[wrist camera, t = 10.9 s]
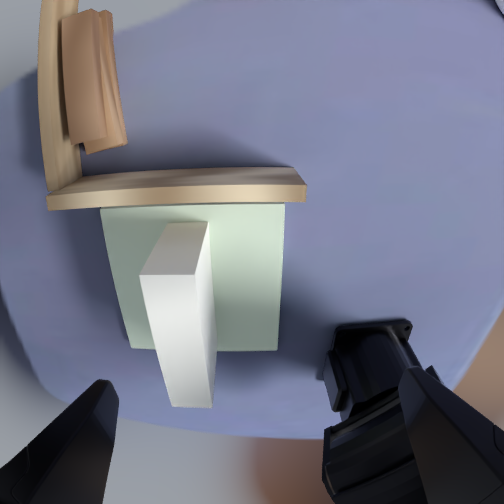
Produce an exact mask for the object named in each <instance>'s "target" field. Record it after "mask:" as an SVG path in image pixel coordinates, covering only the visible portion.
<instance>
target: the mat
mask: <svg viewBox="0 0 504 504" xmlns="http://www.w3.org/2000/svg"><path fill="white" fill-rule="evenodd" d="M100 214H101V220H102V226H103V231H104V237H105V242H106V247H107V252H108V257H109V262H110V267H111V271H112V276H113V280H114V284H115V289H116V293H117V297H118V301H119V305H120V309H121V312H122V316H123V320H124V324H125V327H126V331H127V334H128V338H129V341H130V344H131V348H139V349H156V348H155V344H154V340H153V336H152V332H151V328H150V323H149V319H148V315H147V310H146V306H145V301H144V296H143V292H142V287H141V282H140V277H139V274H140V272H141V270H142V269H143V267H144V265H145V263H146V261H147V259H148V257H149V256H150V254H151V252H152V250H153V248H154V246H155V245H156V243H157V241H158V239H159V238H160V236H161V234H162V232H163V230H164V229H165V227H166V225H167V223H181V222H209V238H210V253H211V267H212V280H213V293H214V305H215V317H216V328H217V339H218V345H217V351H272V350H277V345H278V330H279V315H280V298H281V280H282V261H283V240H284V216H285V203H284V202H210V203H174V204H149V205H128V206H110V207H102V208H101V209H100Z"/></svg>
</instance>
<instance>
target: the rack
mask: <svg viewBox="0 0 504 504" xmlns="http://www.w3.org/2000/svg"><path fill="white" fill-rule="evenodd" d="M77 12H78V0H42V5H41V15H40V25H39V41H38V106H39V122H40V134H41V145H42V154H43V162H44V169H45V176H46V183H47V189H48V191H54V192H52V193H50V194H49V195H47V196H46V201H47V207H48V211H53V210H66V209H79V208H94V207H110V206H128V205H149V204H174V203H210V202H306V189H307V185H306V183H305V182H304V181H303V179H302V178H301V177H300V175H299V174H298V173H297V171H296V170H295V169H294V168H293V167H225V168H191V169H170V170H153V171H138V172H125V173H113V174H103V175H93V176H83V175H82V167H81V158H80V149H79V143H78V144H74V145H71V142H70V135H69V128H68V120H67V111H66V102H65V91H64V78H63V61H62V19H64V18H67V17H69V16H72V15H75V14H77Z"/></svg>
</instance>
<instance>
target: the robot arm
mask: <svg viewBox="0 0 504 504" xmlns="http://www.w3.org/2000/svg"><path fill="white" fill-rule="evenodd" d="M406 326H407V327H406ZM412 327H413V326H412V324H411V322H410V321H409V320H405V321H395V322H384V323H373V324H360V325H346V326H339V327H337V328H336V329H335V332H334V337H333V342H332V347H331V350H329V351H328V353H327V356H326V361H325V365H324V370H323V377H324V382H325V385H326V388H327V392H328V396H329V400H330V404H331V409H332V410H333V411H334V412H340V416H341V420H342V422H340V423H339V424H337V425H335V426H333V427H332V426H330V427H328V428H326V429H324V446H323V463H322V481H323V483H324V484H325V487H326V489H327V492H328V493H329V495H330V497H331V498H332V500H333V502H334V503H335V504H504V431H503V430H502V429H500V428H499V427H498V426H497V425H494V423H492V422H491V421H490V420H489V419H487V418H486V417H485V416H483V415H482V414H481V413H480V412H478V411H477V410H475V409H474V408H473V407H472V406H470V405H469V404H468V403H466V402H465V401H464V400H462V399H461V398H460V397H459V396H457V395H456V394H455V393H453V392H452V391H451V390H449V389H448V388H447V387H445V385H444V383H443V382H442V380H441V379H440V377H439V375H438V374H437V372H436V371H435V369H434V368H433V366H432V365H431V366H430V367H428V368H427V369H425V370H426V371H424V370H423V368H422V366H421V364H420V362H419V361H418V359H417V357H416V355H415V353H414V352H413V350H412V348H411V346H410V345H409V343H408V339H409V336H410V333H411V330H412ZM341 332H343V333H341ZM340 333H341V334H340ZM118 408H119V398H118V395H117V393H116V391H115V389H114V387H113V385H112V383H111V382H110V381H109V380H102V379H99V380H96V381H95V382H94V383H93V384H92V385H91V386H90V387H89V388H88V389H87V390H86V391H84V392H83V393H82V394H81V395H80V396H79V397H78V398H77V399H76V400H75V401H74V402H73V403H72V404H70V405H69V406H68V407H67V408H66V409H65V410H64V411H63V412H62V413H61V414H60V415H59V416H58V417H57V418H55V419H54V420H53V421H52V423H50V424H49V425H48V426H47V427H46V428H45V429H44V430H43V431H42V432H41V433H39V434H38V435H37V436H36V437H35V438H34V439H33V440H32V441H31V442H30V443H29V444H28V445H27V446H26V447H24V448H23V449H22V450H21V451H20V452H19V453H18V454H17V455H16V456H15V457H14V458H12V459H11V460H10V461H9V462H8V463H7V464H5V465H4V466H3V467H2V468H0V504H102V503H103V498H104V492H105V487H106V481H107V476H108V472H109V467H110V462H111V457H112V453H113V448H114V442H115V433H116V424H117V416H118Z"/></svg>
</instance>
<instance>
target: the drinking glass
mask: <svg viewBox="0 0 504 504" xmlns="http://www.w3.org/2000/svg"><path fill="white" fill-rule="evenodd" d="M495 1H496V3H497V5H498V7H499V9H500V10H501V12H502V13H503V15H504V0H495Z"/></svg>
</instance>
